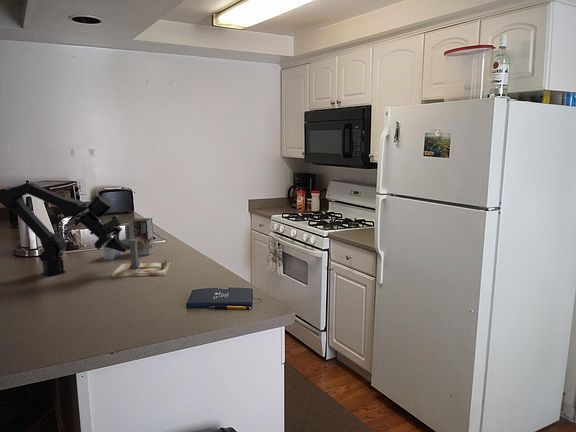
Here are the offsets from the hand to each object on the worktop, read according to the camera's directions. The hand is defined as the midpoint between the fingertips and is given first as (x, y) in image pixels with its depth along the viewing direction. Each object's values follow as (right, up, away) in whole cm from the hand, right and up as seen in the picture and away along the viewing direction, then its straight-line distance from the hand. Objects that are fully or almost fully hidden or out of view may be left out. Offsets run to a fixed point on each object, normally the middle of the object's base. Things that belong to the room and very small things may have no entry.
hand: (125, 251), depth 183 cm
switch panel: (+6, -8, +2) cm, 10 cm away
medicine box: (-14, -5, +23) cm, 27 cm away
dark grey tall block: (+3, -6, +1) cm, 7 cm away
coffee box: (-3, -3, +30) cm, 31 cm away
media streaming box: (-11, -1, +47) cm, 48 cm away
